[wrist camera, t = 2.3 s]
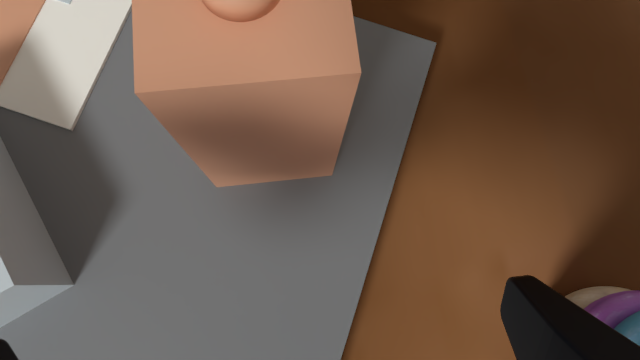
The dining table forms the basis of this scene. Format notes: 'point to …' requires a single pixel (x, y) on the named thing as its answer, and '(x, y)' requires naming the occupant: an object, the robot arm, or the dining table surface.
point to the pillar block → (249, 82)
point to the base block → (24, 249)
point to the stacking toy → (612, 308)
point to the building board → (187, 203)
